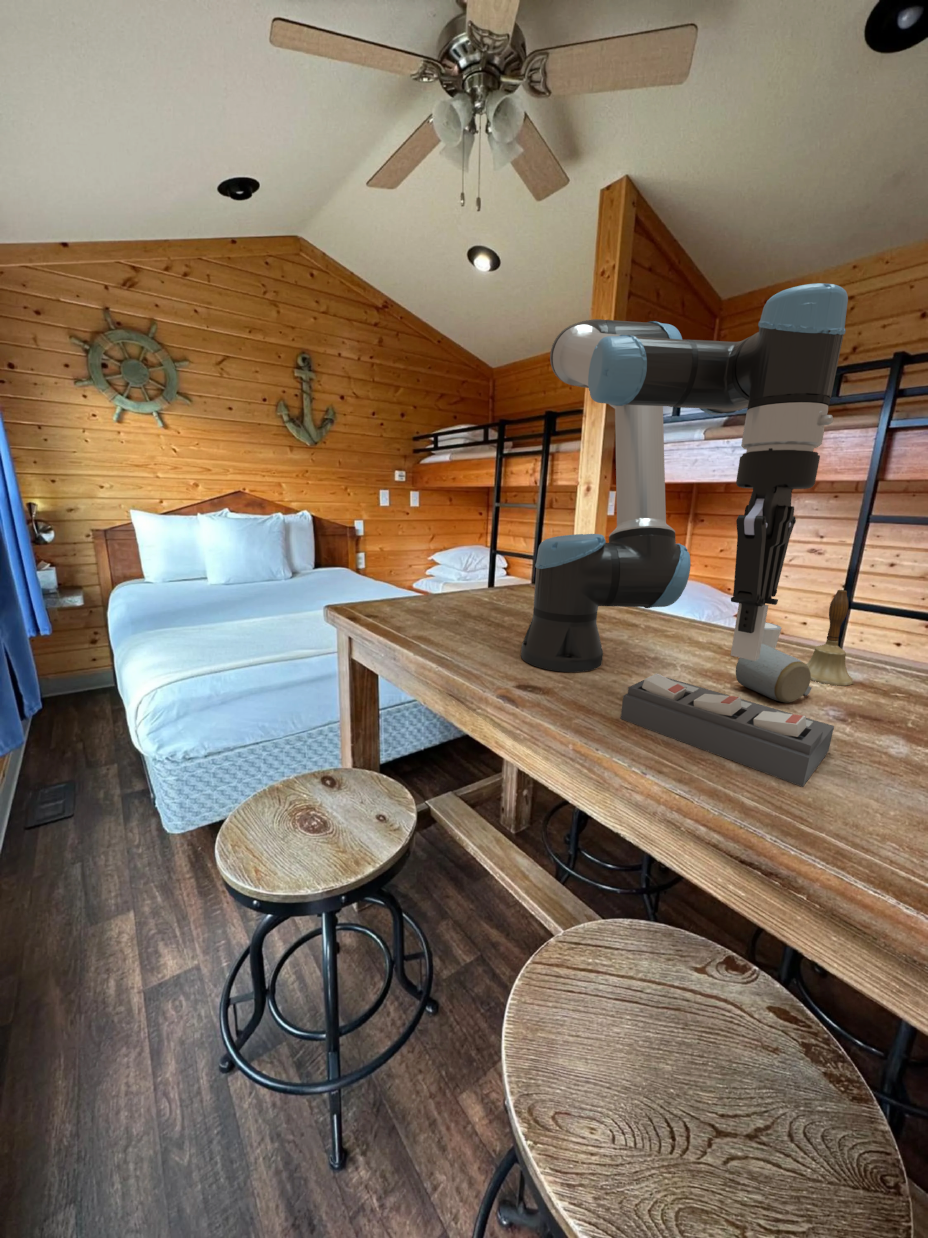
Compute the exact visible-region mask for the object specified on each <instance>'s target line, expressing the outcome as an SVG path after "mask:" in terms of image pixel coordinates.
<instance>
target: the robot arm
mask: <svg viewBox="0 0 928 1238" xmlns="http://www.w3.org/2000/svg"><path fill="white" fill-rule="evenodd" d="M848 301H849V297H848V293H847V290H846V289H845V288H843V287H842V286H840V285H837V284H834V283H823V282H822V283H817V282H815V283H808V284H802V285H801V284H800V285H798V286H793V287H790V288H786V289H783V290H781V291H778V292H777V293H776V294H773V295H772V296H771V297H769V299H767V301H766V303H765V304H764V306H763V308H762V312H761V315H760V320H759V321H758V324H757V325H758V331H757V332H755V333H754V334H753V335H751V336H749V337H747V338H744V339H743V340H741V341H723V340H722V341H721V340H720V341H719V340H707V339H706V340H705V339H704V340H703V339H683V337H682V334H681V333H680V331H679V329H678V328H677V327H676V326H674V325H672V324H669V323H662V322H659V321H656V320H655V321H654V320H653V321H651V320H650V321H647V322H644V321H643V322H641V321H627V320H613V319H599V318H598V319H596V318H594V319H587V320H586V319H585V320H582V321H579V322H576V323H573V324H571V325H568V326H567V327H565V328H563V330H561V332H559V334H558V335H557V336H556V338H555V339H554V340H553V343H552V345H551V349H550V352H549V353H550V354H549V361H550V365H551V366H550V367H551V369H552V372H553V373H554V375H555V377H556V378H558V379H559V381H561V382H563V383H564V384H568V385H569V386H573V387H574V386H575V387H578V388H579V387H580V388H586V389H588V390H589V395H590V397H591V399H592V400H593V402H596V403H598V404H607V405H609V406H610V407H611V408H613V409H614V421H615V425H614V426H615V429H614V430H615V469H616V470H615V476H616V479H615V483H616V485H615V487H616V493H615V494H616V527H615V529H613V531H612V532H610V534H609V535H608V542H607V540H606V538H605V536H604V535H603V534H601V533H584V534H583V533H579V534H578V533H577V534H565V535H558V536H553V537H549V538H545V539H544V540H542V541H541V542H540V544H539V545H538V549H537V554H536V560H535V561H536V562H535V565H534V567H535V568H536V569H535V579H534V580H535V581H534V598H533V610H532V611H533V612H532V619H531V621H530V623H529V626H528V628H527V630H526V633H525V636H524V639H523V642H522V644H521V650H520V651H521V652H520V657H521V659H522V660H523V661H524V662H525V663H527V664H529V665H531V666H534V667H536V668H540V669H544V670H548V671H554V672H563V673H582V672H588V671H593V670H596V669H599V668H600V667H601V666H602V665H603V656H604V651H603V647H602V643H601V637H600V634H599V630H598V624H597V620H598V611H599V607H617V608H618V607H621V608H622V607H626V608H627V607H628V608H630V607H631V608H645V609H651V608H666V607H670V606H671V605H673V604H675V603H676V602H677V601H678V600H679V599H680V597H681V596H682V595H683V592H684V591H685V589H686V587H687V585H688V581H689V577H690V573H691V555H690V552H689V549H688V548H687V546H685V545H684V544H683V545H682V544H681V543H676V541H677V540H676V530H675V529H674V528H672V526H670V525H669V524H667V516H666V515H667V514H666V513H667V511H666V509H667V508H666V477H665V473H666V472H665V440H664V439H665V437H664V434H665V432H664V431H665V430H664V407H670V408H680V409H681V408H682V409H684V408H685V409H699V410H700V411H702V412H704V413H705V414H709V415H714V416H716V415H717V416H718V415H724V414H726V415H728V414H735V413H736V412H737V411H739V412H740V411H742V410H744V409H746V414H745V421H744V426H743V432H742V438H741V448H742V449H743V450H746V452H744V453H742V455H741V456H739V462H738V469H737V473H736V474H737V475H736V482H735V484H736V486H737V487H739V488H741V489H752V491H751V496H750V499H749V501H748V504H746V506H745V509H744V515H743V514H739V515H738V516H737V518H736V521H735V522H736V533H737V534H736V536H737V541H736V552H735V553H736V554H735V569H734V579H733V580H734V581H733V593H732V597H730V602H731V603H736V604H738V607H737V613H736V619H735V625H734V630H733V631H734V632H733V639H732V645H731V649H730V656H732V657H735V658H738V659H739V658H744V659H748V660H753V661H756V660H757V659H759V656H760V650H761V645H762V639H763V633H764V628H765V622H766V621H767V616H768V610H769V605H773V606H776V605H777V604H778V602H779V598H778V599H777V598H774V597H776V596H777V593H778V587H779V582H780V578H781V574H782V571H783V567H784V563H785V558H786V555H787V549H788V546H789V543H790V538H791V534H792V532H793V529H794V526H795V524H796V522H797V519H796V516H794V515H795V506H794V505H792V499H793V498H792V496H793V495H792V493H793V490H805V489H806V490H807V489H810V488H814V487H813V486H815V484H816V481H817V475H818V469H819V466H820V459H821V455H820V454H819V453H818V452H817V451H814V450H815V449H816V448H819V447H820V446H821V445H822V444H823V441H824V440H823V439H824V436H825V435H824V434H825V426H829V425H831V424H832V423H833V421H834V417H833V415H832V414H828V412H829V407H830V402H831V399H832V394H833V389H834V384H835V378H836V374H837V369H838V365H839V359H840V353H841V349H842V344H843V340H844V335H845V334H846V328H845V326H846V320H847V319H846V318H847V317H846V316H847V311H848V310H847V309H848Z"/></svg>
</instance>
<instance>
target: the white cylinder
mask: <svg viewBox="0 0 928 1238" xmlns="http://www.w3.org/2000/svg"><path fill="white" fill-rule="evenodd" d="M781 631H782V626H780V625H778V624H775V623H773V622H765V628H764V633H763V639H762V644H765V645H768V646H770V647H772V648H774V649H776V647H777V644H778V641H779V637H780V635H781Z"/></svg>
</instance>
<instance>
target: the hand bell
mask: <svg viewBox="0 0 928 1238" xmlns="http://www.w3.org/2000/svg"><path fill="white" fill-rule="evenodd" d="M847 593H848V591H847V590H843V589H838V590H836V593H835V595H834V596H833V598H832V600H831V602H830V604H829V609H828V620H829V628H828V632H827V636H826V642H825V643H824V644H819V645H817V646H815V648H814V651H813V654H812V655H811V658H810V659H809V660H808V662H807V663H805V664H806V665H807V666H808V667H809V669H810V673H811V680H812V682H815V681H816V683H818V682H819V684H823V683H825V684H824V685H828V684H830V685H829V686H836V685H837V686H839V687H840V686H841V687H847V686H851V685H853V684H854V680H853V678H852V676H851V675H850V673H848V671H847V667H846V657H847V656H846V654H847V652H846V650H844V648H843V649H842V648H841V647H840V646H839V637H840V632H841V626H842V625H843V622H844V621H845V618H846V617H847V614H848V611H849V599H848V594H847ZM811 680H810V681H811Z"/></svg>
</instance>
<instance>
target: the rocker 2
mask: <svg viewBox="0 0 928 1238" xmlns="http://www.w3.org/2000/svg"><path fill="white" fill-rule="evenodd" d="M806 718H807V717H806V715H801V714H794V713H791V714H786V713H777V712H768V711H763V712H761V713H760V714H759V715H758V716H757V717H755V718H754V719H753V720H754V726H757V727H760V728H764V729H767V730H770V731H773V732H776V733H779V734H782V735H788V736H795V737H798V736H799V735H800V734H801V733H802V732H803V730H804V729H805V728H806Z"/></svg>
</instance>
